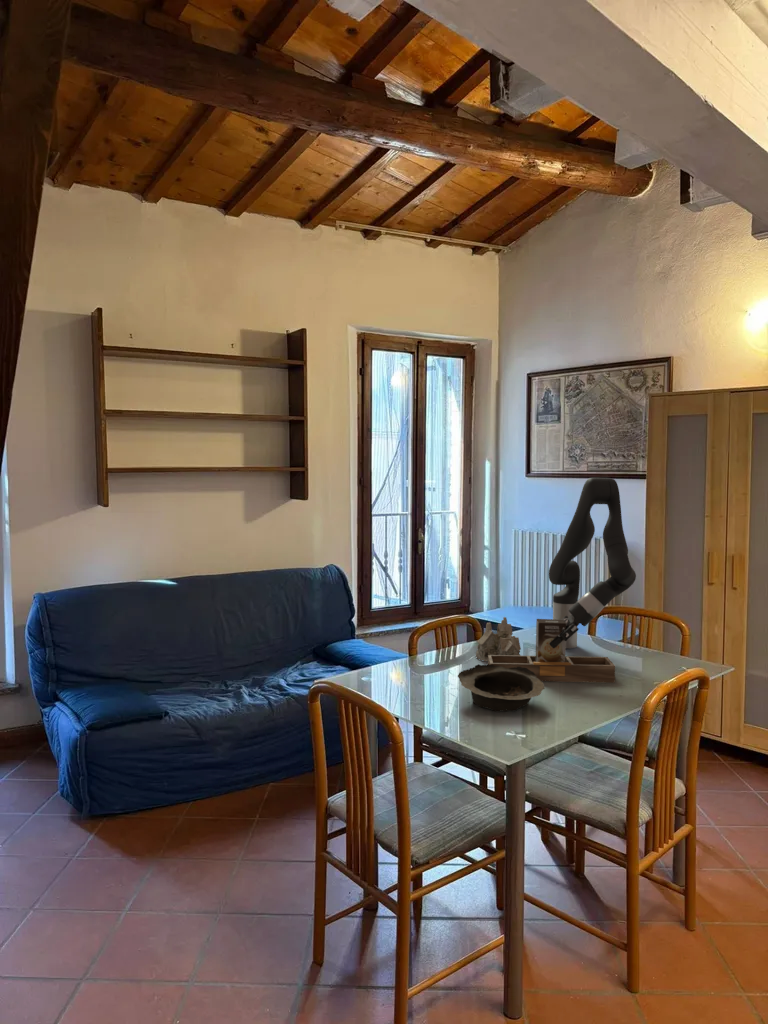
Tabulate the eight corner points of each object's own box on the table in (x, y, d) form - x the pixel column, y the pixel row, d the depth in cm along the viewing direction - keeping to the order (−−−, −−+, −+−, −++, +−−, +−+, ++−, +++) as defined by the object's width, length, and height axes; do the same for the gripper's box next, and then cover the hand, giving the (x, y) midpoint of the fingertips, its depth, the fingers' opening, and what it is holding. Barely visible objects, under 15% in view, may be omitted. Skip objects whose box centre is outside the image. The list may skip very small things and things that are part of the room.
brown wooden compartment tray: (487, 670, 249) (488, 653, 248) (607, 673, 246) (607, 655, 245) (490, 680, 237) (490, 662, 237) (615, 683, 234) (615, 664, 234)
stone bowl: (486, 685, 232) (488, 657, 231) (557, 707, 216) (560, 677, 215) (441, 703, 213) (444, 673, 212) (517, 729, 197) (519, 696, 196)
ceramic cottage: (474, 653, 272) (476, 614, 270) (518, 655, 271) (520, 616, 269) (476, 667, 257) (479, 625, 255) (523, 669, 256) (526, 628, 254)
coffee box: (537, 670, 239) (537, 622, 238) (535, 665, 245) (535, 618, 244) (565, 671, 238) (566, 623, 237) (562, 666, 244) (563, 618, 243)
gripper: (574, 596, 247) (538, 630, 248) (582, 604, 232) (544, 640, 234) (590, 612, 247) (554, 646, 248) (599, 621, 232) (561, 657, 234)
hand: (549, 643), depth 241 cm, fingers closed on coffee box, 6 cm apart
